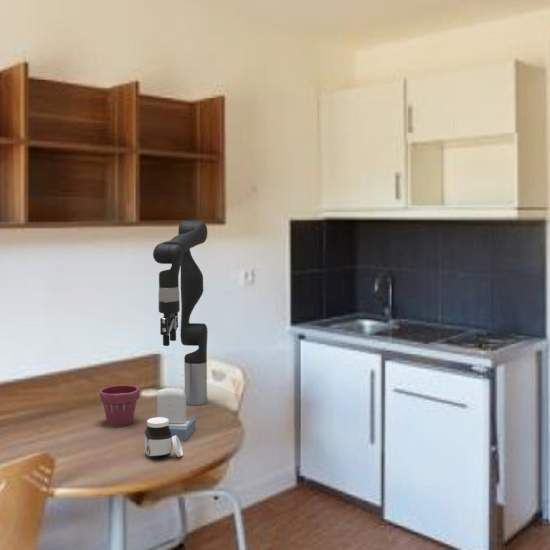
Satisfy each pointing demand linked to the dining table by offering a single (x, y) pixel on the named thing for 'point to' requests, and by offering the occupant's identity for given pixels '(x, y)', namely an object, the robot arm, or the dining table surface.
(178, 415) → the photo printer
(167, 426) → the spread jar
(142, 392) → the dining table surface
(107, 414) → the plant pot
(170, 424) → the base block
